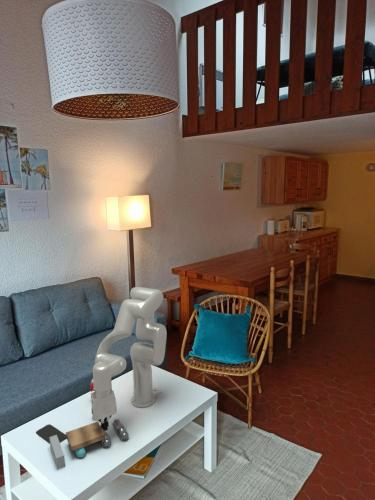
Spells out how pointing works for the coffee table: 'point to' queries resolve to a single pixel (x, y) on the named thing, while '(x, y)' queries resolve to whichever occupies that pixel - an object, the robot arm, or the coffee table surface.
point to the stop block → (57, 452)
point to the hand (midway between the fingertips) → (105, 428)
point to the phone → (50, 433)
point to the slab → (85, 435)
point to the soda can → (92, 387)
